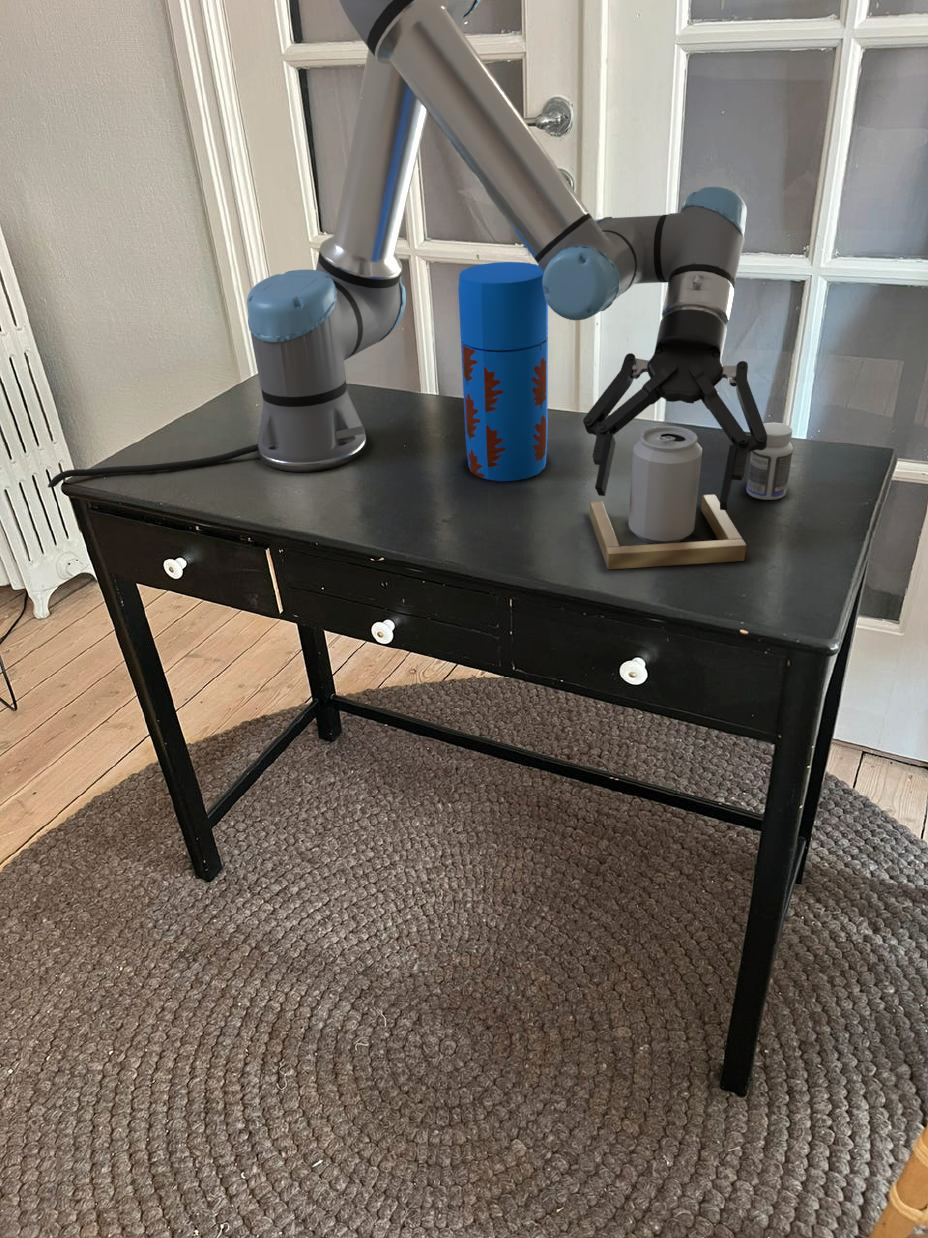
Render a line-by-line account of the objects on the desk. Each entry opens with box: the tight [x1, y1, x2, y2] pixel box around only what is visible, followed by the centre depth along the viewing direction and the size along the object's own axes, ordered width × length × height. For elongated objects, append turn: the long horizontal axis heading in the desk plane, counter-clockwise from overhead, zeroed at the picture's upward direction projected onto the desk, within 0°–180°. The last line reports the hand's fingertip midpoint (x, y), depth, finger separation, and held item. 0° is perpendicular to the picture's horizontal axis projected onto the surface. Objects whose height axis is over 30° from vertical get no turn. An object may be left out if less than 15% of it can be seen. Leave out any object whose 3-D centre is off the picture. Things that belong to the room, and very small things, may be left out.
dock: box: [589, 494, 747, 570], centre depth 105 cm, size 15×12×2 cm
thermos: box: [457, 261, 549, 482], centre depth 117 cm, size 11×11×25 cm
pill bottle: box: [746, 421, 794, 501], centre depth 111 cm, size 5×5×8 cm
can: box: [628, 425, 703, 544], centre depth 103 cm, size 8×8×12 cm
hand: (660, 499), depth 102 cm, fingers open, 13 cm apart
